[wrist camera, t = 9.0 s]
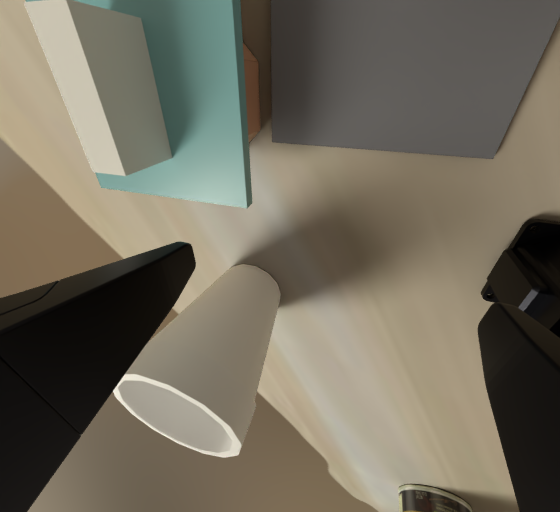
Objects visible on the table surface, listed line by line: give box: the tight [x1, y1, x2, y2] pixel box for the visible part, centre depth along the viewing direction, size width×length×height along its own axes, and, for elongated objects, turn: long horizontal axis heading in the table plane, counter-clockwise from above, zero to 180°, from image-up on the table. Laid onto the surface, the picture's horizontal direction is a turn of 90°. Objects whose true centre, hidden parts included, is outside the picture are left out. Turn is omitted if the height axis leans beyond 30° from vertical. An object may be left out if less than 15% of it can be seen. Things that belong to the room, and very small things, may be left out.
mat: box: [271, 0, 560, 159], centre depth 12 cm, size 13×13×1 cm
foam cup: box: [113, 264, 281, 458], centre depth 22 cm, size 10×9×13 cm
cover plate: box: [24, 0, 252, 208], centre depth 12 cm, size 11×11×4 cm
